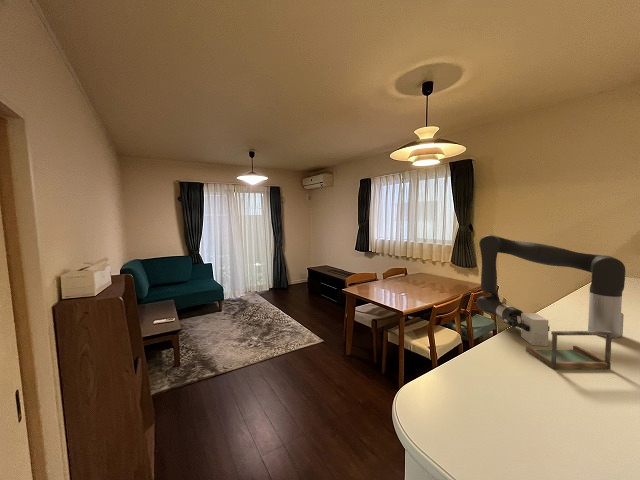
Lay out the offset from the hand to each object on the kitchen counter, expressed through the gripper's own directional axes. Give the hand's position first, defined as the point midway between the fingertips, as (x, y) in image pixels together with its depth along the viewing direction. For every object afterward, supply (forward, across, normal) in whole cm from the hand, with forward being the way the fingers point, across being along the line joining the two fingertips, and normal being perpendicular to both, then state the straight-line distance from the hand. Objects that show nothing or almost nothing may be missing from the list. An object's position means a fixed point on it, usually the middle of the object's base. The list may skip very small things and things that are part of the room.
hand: (538, 329), depth 101 cm
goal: (+12, 0, +6) cm, 13 cm away
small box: (-2, 0, +6) cm, 7 cm away
